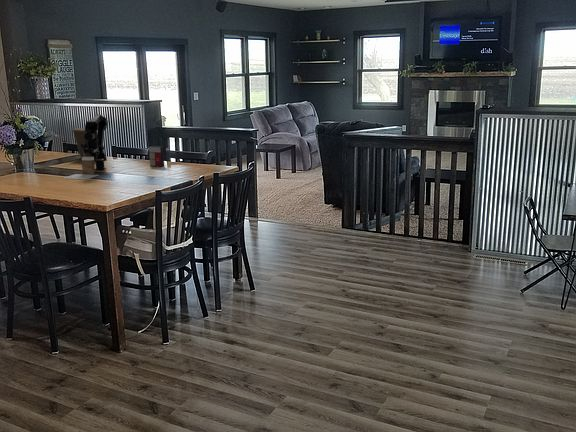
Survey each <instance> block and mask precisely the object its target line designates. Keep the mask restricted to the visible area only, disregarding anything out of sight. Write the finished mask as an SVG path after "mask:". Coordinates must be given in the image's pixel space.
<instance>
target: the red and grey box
mask: <svg viewBox="0 0 576 432" xmlns="http://www.w3.org/2000/svg"><path fill="white" fill-rule="evenodd" d="M148 152H149V166H150V167H153V166H154V167H156V168H159V167H160V168H163V166H164V167H165V157H164V155H165V154H164V152H165V147H164V145H163V146H161V145H160V146H159V145H149V146H148Z"/></svg>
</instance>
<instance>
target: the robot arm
mask: <svg viewBox="0 0 576 432" xmlns="http://www.w3.org/2000/svg"><path fill="white" fill-rule="evenodd" d="M108 121H109V120H108V119H107V118H106V117H105V116H103V114H94V116H93V117H92V119H90V120H87V121H86V122H85V127H84V129H85V131H87V133H86V134H85V135H84V138H85V139H86V140H87V144H84V143H82V144H81V148H82V149H83V153H90V154H91V156H92V157H94V163H95V171H104V170H107V167H105V162H107V160H108V159H107V156H106V153H105V151H104V150H105V145H104V138H105V137H104V136H105V131H106V130H107V128H108V125H109V123H108ZM97 159H99V160H97Z"/></svg>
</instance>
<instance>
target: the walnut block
mask: <svg viewBox="0 0 576 432" xmlns="http://www.w3.org/2000/svg"><path fill="white" fill-rule="evenodd" d="M81 158H82V159H81ZM80 159H81V168H82V174H88V175H96V170H95V169H96V163H95V162H94V157H80Z"/></svg>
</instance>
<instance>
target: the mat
mask: <svg viewBox="0 0 576 432" xmlns="http://www.w3.org/2000/svg"><path fill="white" fill-rule="evenodd" d="M98 176H100V175H99V174H94V175H88V174H83V173H82V174H80V173H78V174H77V173H74V174H71V175H68V176H64V177H61V179H62V180H64V179H65V180H85V181H87V180H89V179H93V178H95V177H98Z"/></svg>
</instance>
